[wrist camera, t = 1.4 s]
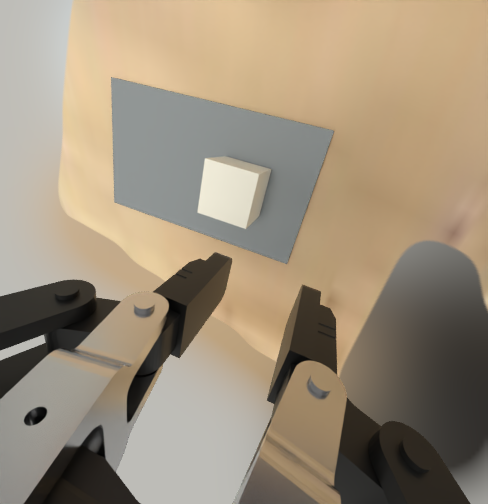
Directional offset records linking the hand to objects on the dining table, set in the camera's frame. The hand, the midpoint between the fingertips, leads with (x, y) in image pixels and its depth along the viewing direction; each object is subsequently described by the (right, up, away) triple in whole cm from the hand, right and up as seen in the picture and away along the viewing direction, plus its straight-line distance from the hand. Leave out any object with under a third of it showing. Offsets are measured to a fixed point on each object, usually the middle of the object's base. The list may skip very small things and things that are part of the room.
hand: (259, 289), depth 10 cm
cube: (-1, +9, +16) cm, 18 cm away
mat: (-5, +10, +17) cm, 21 cm away
